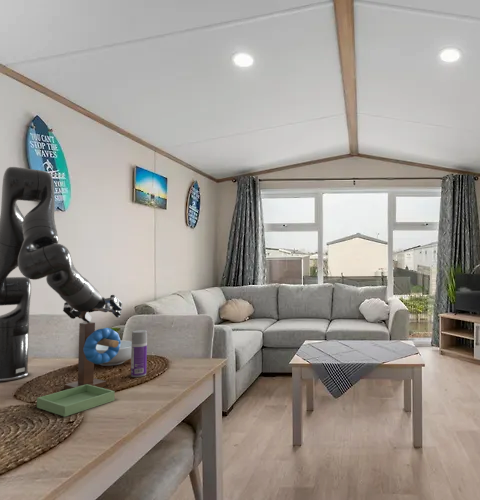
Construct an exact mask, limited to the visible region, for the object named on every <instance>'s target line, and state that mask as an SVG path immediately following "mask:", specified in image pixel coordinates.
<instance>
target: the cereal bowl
mask: <svg viewBox="0 0 480 500" xmlns="http://www.w3.org/2000/svg"><path fill="white" fill-rule="evenodd" d="M120 341H121V345H120V348H119V351H118V353H117V355H116V356H115V357H114V358H113V359H111V360H110V361H109V362H106V363H102V364H99V365H100V366H105V367H109V366H117V365H121V364H124V363H125V362H126V361H128V360H131V348H132V340H125V339H124V340H122V339H120ZM108 347H109V346H103V345H98V344H97V346H96V350H97V352H98V353H104V352H105V351H106V350H107V349H108Z"/></svg>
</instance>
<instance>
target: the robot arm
mask: <svg viewBox="0 0 480 500" xmlns="http://www.w3.org/2000/svg"><path fill="white" fill-rule="evenodd" d="M1 187H2V188H1V203H0V306H1V307H3V306H16V307H15V308H14V309H12V310H11V311H9V312H6V313H4V314H1V315H0V382H9V381H14V380H19V379H22V378H26V377H27V376H28V375H29V369H28V368H29V343H30V341H29V340H30V307H31V296H32V282H31V280H33V281H36V280H41V279H43V278H46V279H45V280H46V284H47V285H48V286H49V287H50V288H51V289H52V290H53V291H54V292H56V293H57V294H58V295H59V297H60V298H61V299H62V300H63V301H64V304H63V308H62V312H64V313H65V314H66V315H67V316H68V317H69V318H70V319H73V320H74V319H76V318H78V319H81V320H82V321H83V322H87V323H89V322H92V315H91V314H89V313H94V312H103V313H108V312H109V313H112V314H113V315H114V316H115V317H116V318H120V317H121V315H122V310H123V302H122V301H121V300H120V299H119V298H118V297H117V295H115V294H110V297H106V298H105V297H104V296H102V295H101V294H100V291H99V290H98V289H97V288H96V287H95V286H94V285H93V284H92V283H91V282H90V281H89V279H87V278H86V277H84V276H83V275H82V274H81V273H80V272H79V271H78V270H77V269H76V267H75V264H74V263H73V258H72V255H71V253H70V250H69V249H68V248H67V247H66V246H65V245H64V244H62V243H59V234H58V230H57V225H56V221H55V220H56V219H55V205H56V204H55V203H56V202H55V183H54V179H53V176H52V174H51V173H50V172H48V171H45V170H39V169H33V168H26V167H18V166H9V167H7V168H6V169H5V171H4V173H3V177H2V185H1ZM17 201H25V202H35V203H37V205H35V206H34V207H33V208H32V209H30V211H28V212H27V213H26V214H25V215H23V213H22V211H21V210H20V208H19V205H18V202H17ZM17 268H18V270H19V272H20V273H21V275H22V276H10V277H9V275H10V274H11V273H12V272H13V271H14V270H16V269H17Z"/></svg>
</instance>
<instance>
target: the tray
mask: <svg viewBox="0 0 480 500" xmlns="http://www.w3.org/2000/svg"><path fill="white" fill-rule="evenodd" d="M115 394H116V393H115V390H111V389H108V388H104V387H101V388H100V387H96V386H92V385H89V384H86V385H82V386H78V387H75V388H71V389H67V390H65V389H63V390H60V391H57V392H53V393H50V394H46V395H42V396H38V397H36V408H37V409H40V410H43V411H46V412H49V413H52V414H55V415H59V416H61V417H64V418H65V417H69V416H71V415H74V414H75V415H76V414H78V413H80V412H84V411H87V410H89V409H93V408H95V407H98V406H102V405H105V404H108V403H111V402H114V401H115V397H116V396H115Z"/></svg>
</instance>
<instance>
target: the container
mask: <svg viewBox="0 0 480 500" xmlns="http://www.w3.org/2000/svg"><path fill="white" fill-rule="evenodd" d="M131 341H132V348H131V359H130V377H131V378H141V377H144V376H146V375H147V363H148V362H147V360H148V359H147V357H148V330H146V329H140V330H139V329H137V330H133V331H131Z"/></svg>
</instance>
